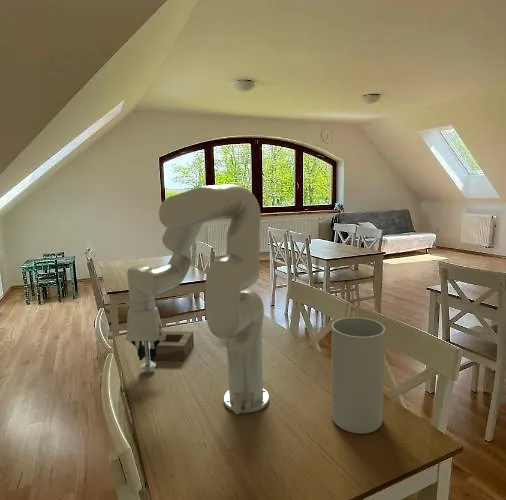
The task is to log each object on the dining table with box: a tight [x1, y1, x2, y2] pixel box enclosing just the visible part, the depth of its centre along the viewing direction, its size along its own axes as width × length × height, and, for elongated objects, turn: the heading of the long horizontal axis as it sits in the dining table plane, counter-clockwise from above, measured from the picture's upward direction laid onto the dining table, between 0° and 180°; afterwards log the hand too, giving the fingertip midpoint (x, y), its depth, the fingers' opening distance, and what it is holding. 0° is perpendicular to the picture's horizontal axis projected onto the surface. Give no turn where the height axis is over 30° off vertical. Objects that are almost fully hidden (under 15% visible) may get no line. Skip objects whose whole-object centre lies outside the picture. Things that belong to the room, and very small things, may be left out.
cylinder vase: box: [330, 316, 386, 435], centre depth 96 cm, size 12×12×25 cm
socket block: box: [149, 330, 195, 361], centre depth 139 cm, size 12×12×6 cm
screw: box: [140, 341, 157, 374], centre depth 125 cm, size 13×5×5 cm
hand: (147, 358), depth 125 cm, fingers open, 3 cm apart
